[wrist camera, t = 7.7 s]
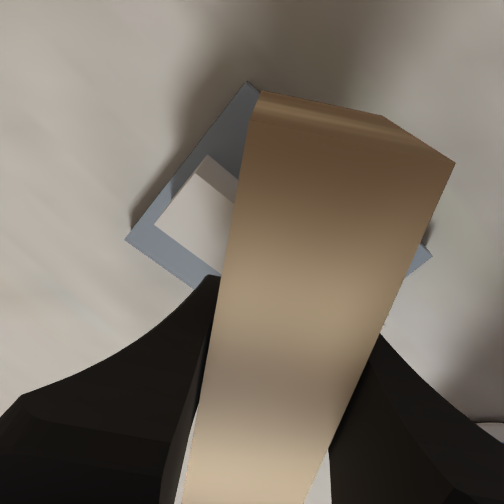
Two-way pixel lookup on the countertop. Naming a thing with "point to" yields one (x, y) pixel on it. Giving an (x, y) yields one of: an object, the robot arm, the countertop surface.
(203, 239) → the fulcrum stand
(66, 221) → the countertop surface
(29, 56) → the countertop surface
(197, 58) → the countertop surface
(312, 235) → the oak stick
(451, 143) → the countertop surface
